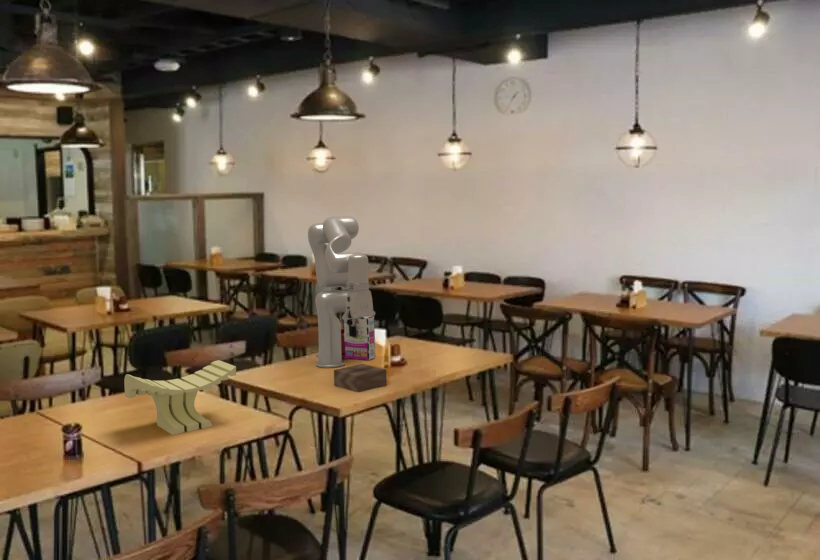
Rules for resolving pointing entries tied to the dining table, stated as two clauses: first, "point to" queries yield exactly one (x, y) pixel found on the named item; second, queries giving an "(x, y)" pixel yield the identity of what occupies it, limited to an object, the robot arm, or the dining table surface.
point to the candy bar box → (360, 340)
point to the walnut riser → (360, 377)
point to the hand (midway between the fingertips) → (359, 334)
